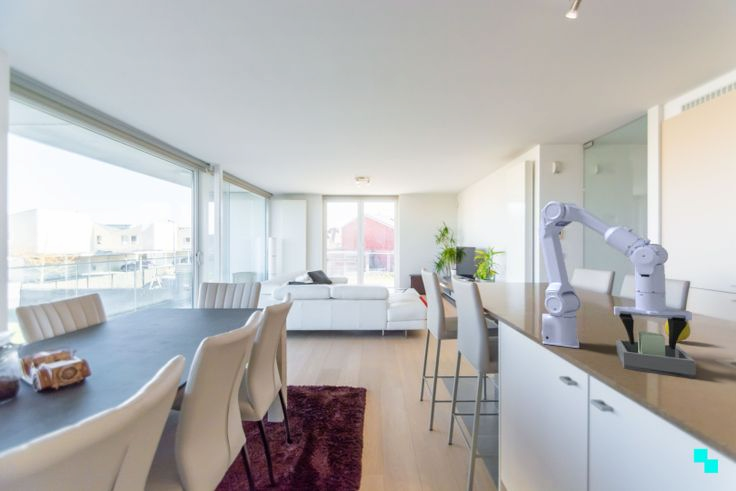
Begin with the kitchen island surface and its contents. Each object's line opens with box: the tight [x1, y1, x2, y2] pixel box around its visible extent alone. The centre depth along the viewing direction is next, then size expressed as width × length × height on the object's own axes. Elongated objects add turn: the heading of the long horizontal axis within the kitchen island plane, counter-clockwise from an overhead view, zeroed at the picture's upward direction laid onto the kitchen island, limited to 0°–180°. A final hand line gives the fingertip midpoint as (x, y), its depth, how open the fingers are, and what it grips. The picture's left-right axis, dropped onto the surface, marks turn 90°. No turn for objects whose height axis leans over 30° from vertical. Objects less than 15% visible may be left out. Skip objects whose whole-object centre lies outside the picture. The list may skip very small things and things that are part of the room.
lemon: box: [664, 319, 691, 343], centre depth 98 cm, size 6×6×8 cm
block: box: [637, 330, 666, 356], centre depth 80 cm, size 4×4×7 cm
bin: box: [615, 338, 697, 380], centre depth 80 cm, size 13×13×4 cm
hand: (651, 345), depth 80 cm, fingers open, 7 cm apart
